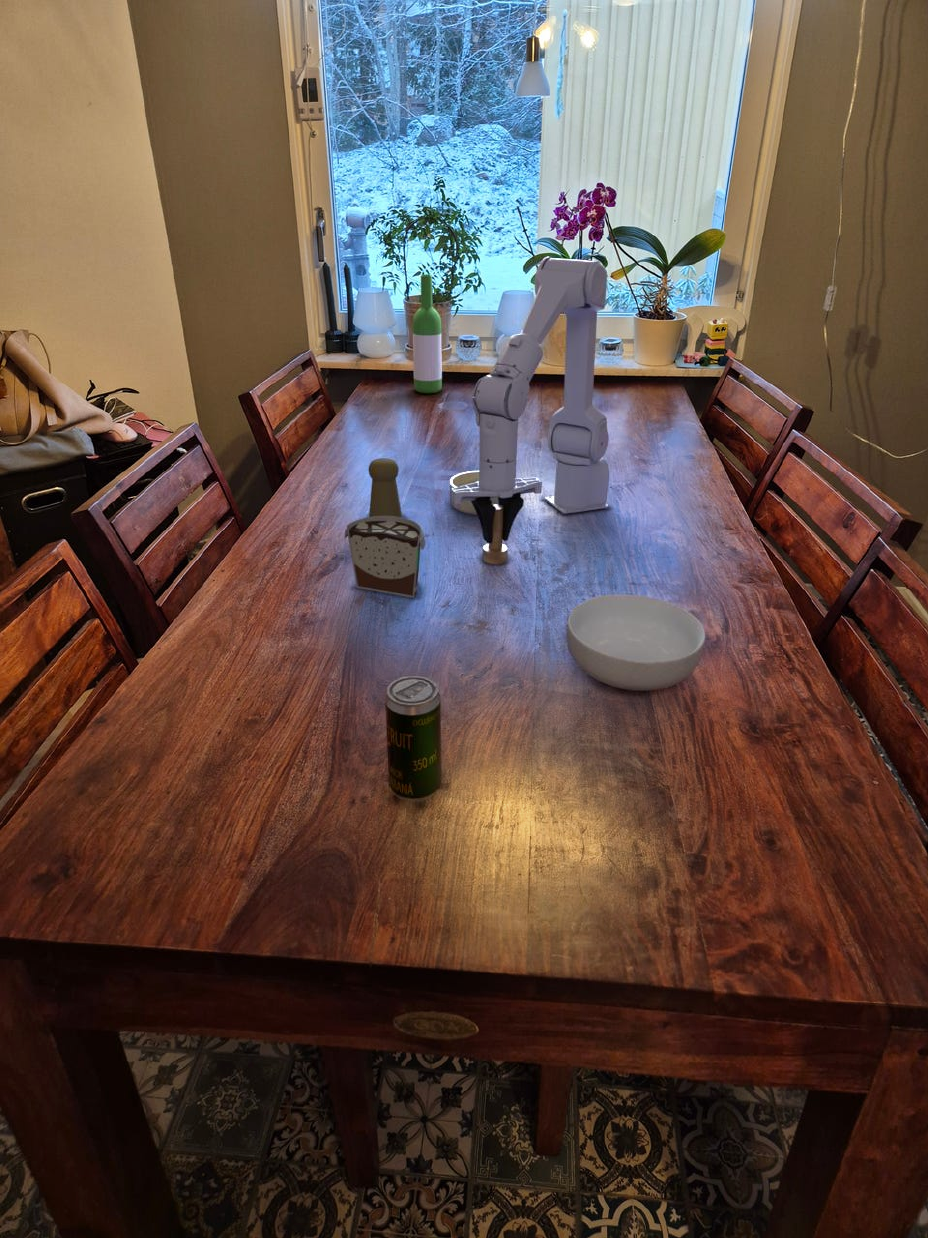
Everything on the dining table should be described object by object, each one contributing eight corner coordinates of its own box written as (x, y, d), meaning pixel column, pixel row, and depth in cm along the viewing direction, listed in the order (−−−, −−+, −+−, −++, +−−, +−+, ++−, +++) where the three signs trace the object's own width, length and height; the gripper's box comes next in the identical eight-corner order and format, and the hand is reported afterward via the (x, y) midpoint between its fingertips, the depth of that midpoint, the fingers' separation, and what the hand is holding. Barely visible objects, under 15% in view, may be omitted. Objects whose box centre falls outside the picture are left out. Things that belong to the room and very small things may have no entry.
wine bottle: (411, 393, 225) (408, 276, 210) (417, 386, 232) (415, 272, 217) (438, 394, 224) (438, 277, 209) (444, 388, 231) (443, 273, 216)
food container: (438, 581, 125) (437, 520, 120) (423, 599, 120) (422, 536, 115) (365, 569, 128) (361, 509, 123) (347, 586, 123) (343, 524, 118)
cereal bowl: (670, 729, 93) (678, 677, 89) (540, 684, 100) (543, 635, 97) (715, 661, 105) (724, 614, 102) (596, 627, 113) (601, 581, 110)
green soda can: (414, 762, 87) (411, 668, 81) (452, 784, 84) (452, 688, 78) (378, 788, 84) (372, 691, 78) (416, 812, 81) (413, 713, 75)
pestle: (501, 552, 134) (503, 500, 130) (511, 562, 131) (513, 509, 127) (478, 555, 133) (479, 503, 129) (488, 565, 130) (489, 512, 125)
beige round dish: (498, 489, 160) (499, 467, 158) (524, 511, 150) (525, 488, 148) (441, 497, 156) (440, 474, 154) (463, 520, 146) (463, 496, 144)
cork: (397, 527, 143) (395, 466, 138) (364, 524, 144) (361, 464, 139) (406, 514, 148) (404, 455, 143) (374, 511, 149) (371, 453, 144)
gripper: (462, 470, 118) (461, 556, 125) (552, 460, 123) (547, 542, 129) (446, 456, 124) (446, 538, 131) (532, 446, 129) (528, 526, 135)
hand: (495, 539), depth 130 cm, fingers closed on pestle, 2 cm apart
